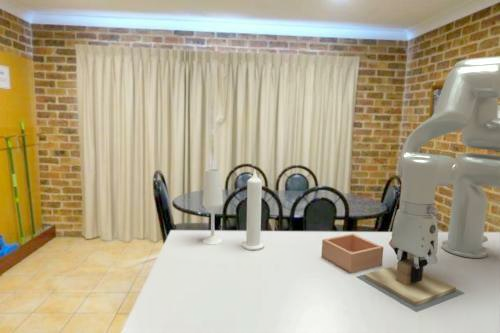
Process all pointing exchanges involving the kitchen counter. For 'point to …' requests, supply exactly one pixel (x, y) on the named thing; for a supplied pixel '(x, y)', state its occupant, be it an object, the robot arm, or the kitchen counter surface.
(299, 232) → the kitchen counter surface
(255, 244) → the candle
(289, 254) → the kitchen counter surface
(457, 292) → the mat
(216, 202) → the champagne flute
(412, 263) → the lid
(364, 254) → the open wooden tray
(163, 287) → the kitchen counter surface
